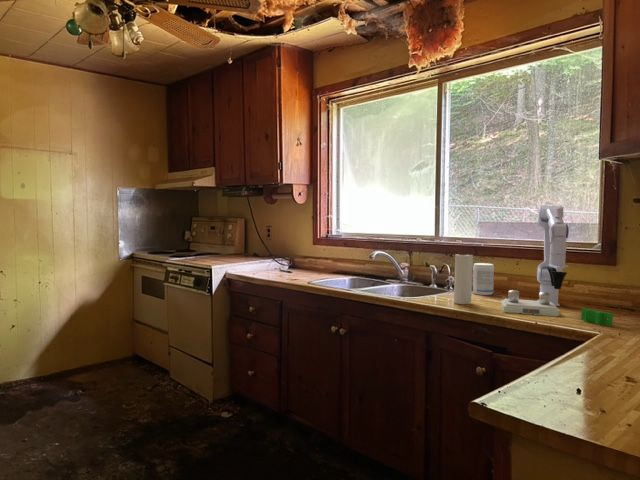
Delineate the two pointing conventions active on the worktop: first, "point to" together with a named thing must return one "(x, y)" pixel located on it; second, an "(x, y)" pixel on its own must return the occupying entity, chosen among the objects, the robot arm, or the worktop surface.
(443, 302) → the worktop surface
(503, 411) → the worktop surface
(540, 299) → the spacer
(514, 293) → the spacer
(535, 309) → the scale
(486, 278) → the supplement tub
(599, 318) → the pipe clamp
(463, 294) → the paper towel roll
